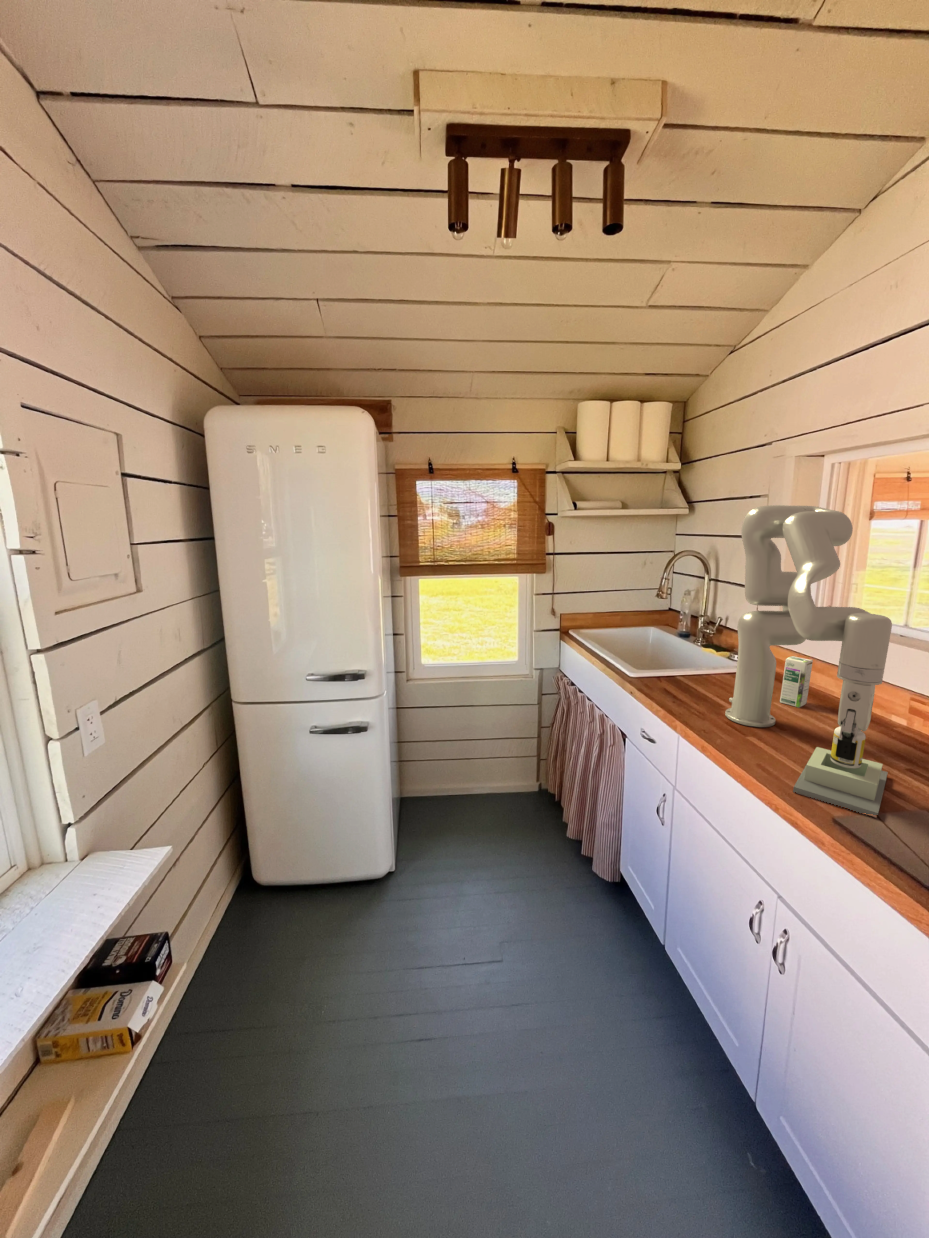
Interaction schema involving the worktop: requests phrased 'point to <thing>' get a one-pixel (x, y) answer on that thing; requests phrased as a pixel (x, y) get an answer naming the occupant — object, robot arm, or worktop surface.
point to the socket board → (841, 795)
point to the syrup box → (796, 681)
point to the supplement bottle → (858, 755)
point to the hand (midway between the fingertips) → (846, 752)
